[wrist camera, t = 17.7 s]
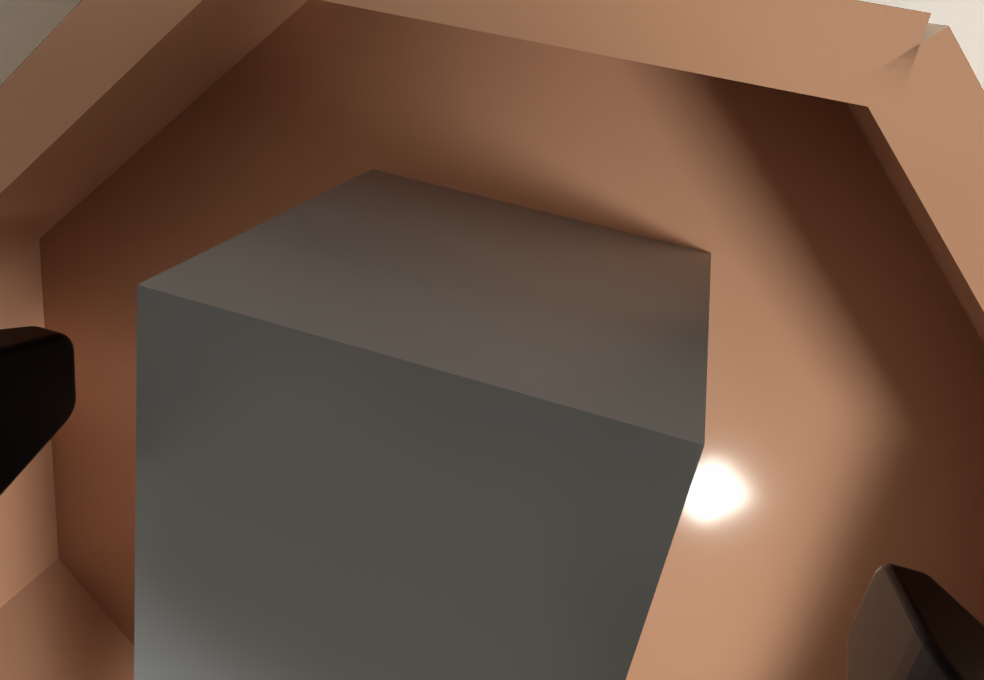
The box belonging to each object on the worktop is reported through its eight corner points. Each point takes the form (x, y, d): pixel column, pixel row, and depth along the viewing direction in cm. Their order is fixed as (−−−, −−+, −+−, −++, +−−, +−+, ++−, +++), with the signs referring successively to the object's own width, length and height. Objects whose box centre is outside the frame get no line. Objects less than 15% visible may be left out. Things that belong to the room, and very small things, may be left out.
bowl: (838, 1002, 15) (862, 1213, 13) (57, 720, 18) (-59, 846, 15) (1353, 94, 9) (1635, 136, 6) (-3, -145, 11) (-225, -190, 9)
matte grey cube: (622, 541, 12) (566, 855, 8) (336, 455, 13) (133, 696, 8) (711, 252, 10) (704, 444, 6) (373, 168, 11) (137, 284, 7)
